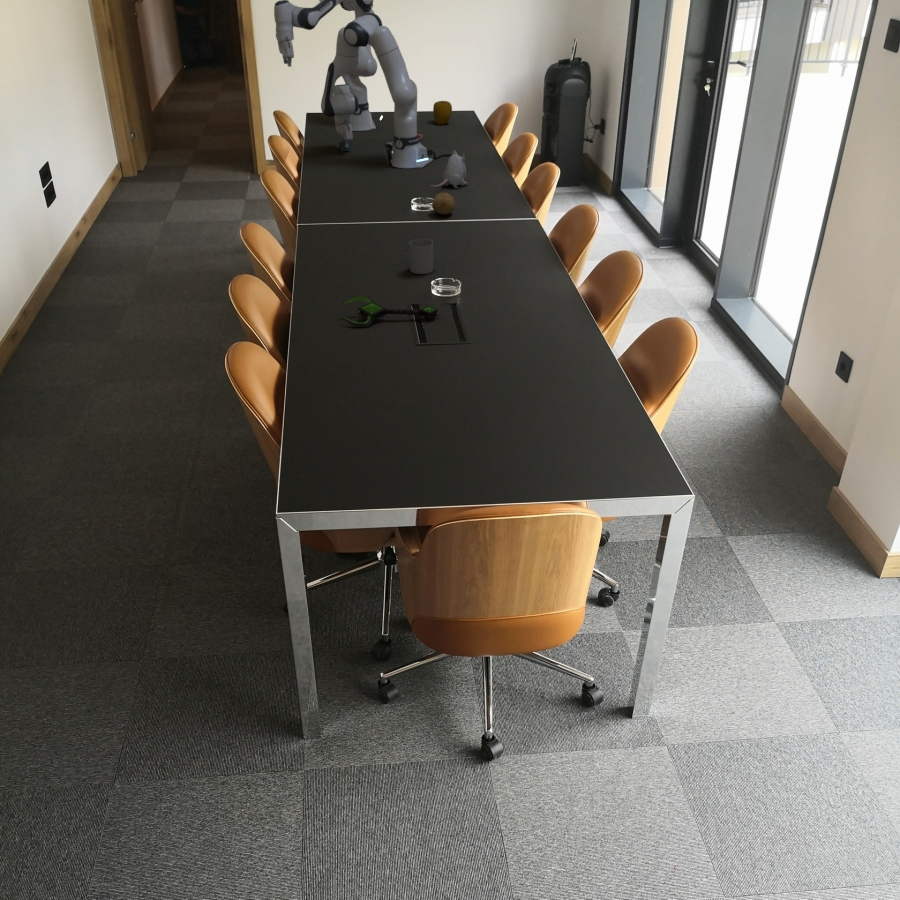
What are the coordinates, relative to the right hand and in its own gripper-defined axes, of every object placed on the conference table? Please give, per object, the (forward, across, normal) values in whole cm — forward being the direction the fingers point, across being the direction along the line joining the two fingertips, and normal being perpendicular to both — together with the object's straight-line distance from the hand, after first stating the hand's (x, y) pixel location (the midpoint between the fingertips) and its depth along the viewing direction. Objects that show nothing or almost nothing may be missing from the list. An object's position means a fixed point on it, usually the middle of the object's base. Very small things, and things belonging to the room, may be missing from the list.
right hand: (345, 145), depth 449 cm
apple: (+3, +42, -70) cm, 81 cm away
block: (+2, 0, 0) cm, 2 cm away
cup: (+3, -174, +19) cm, 175 cm away
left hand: (-35, +36, +19) cm, 53 cm away
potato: (+3, -116, -11) cm, 117 cm away
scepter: (+3, -211, +42) cm, 215 cm away
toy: (+3, -82, -26) cm, 86 cm away
